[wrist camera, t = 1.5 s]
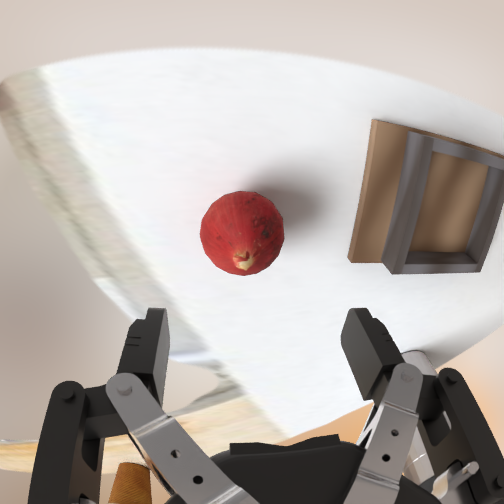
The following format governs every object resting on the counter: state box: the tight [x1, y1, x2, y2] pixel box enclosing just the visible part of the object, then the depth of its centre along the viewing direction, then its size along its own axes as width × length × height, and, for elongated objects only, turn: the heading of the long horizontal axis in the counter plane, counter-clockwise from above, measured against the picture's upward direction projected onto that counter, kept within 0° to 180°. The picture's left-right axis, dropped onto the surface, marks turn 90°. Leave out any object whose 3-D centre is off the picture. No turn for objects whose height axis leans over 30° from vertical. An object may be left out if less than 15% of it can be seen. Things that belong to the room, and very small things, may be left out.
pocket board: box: [348, 119, 504, 274], centre depth 25 cm, size 18×13×4 cm
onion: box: [200, 191, 284, 276], centre depth 22 cm, size 6×6×8 cm
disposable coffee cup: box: [108, 463, 152, 504], centre depth 43 cm, size 10×10×12 cm
